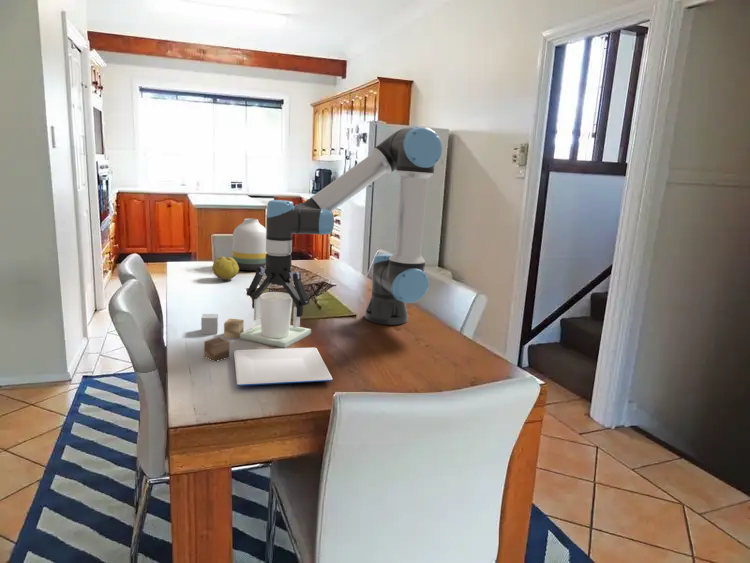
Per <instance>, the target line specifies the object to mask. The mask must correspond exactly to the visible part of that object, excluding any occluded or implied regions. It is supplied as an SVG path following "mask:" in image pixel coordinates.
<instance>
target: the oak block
mask: <svg viewBox="0 0 750 563" xmlns="http://www.w3.org/2000/svg"><path fill="white" fill-rule="evenodd" d="M244 321H245V319H238V318H228V319H226V321H224V322H223V337H224V338H227V339H228V338H230V339H240V333H242V332H244V328H245V327H244V325H245V322H244Z"/></svg>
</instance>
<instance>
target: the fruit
mask: <svg viewBox="0 0 750 563" xmlns="http://www.w3.org/2000/svg"><path fill="white" fill-rule="evenodd" d="M211 269H212V272H213V274H214V276H216V277H217V278H219V279H220V280H223V281H228V280H229V281H230V280H231V279H233V278H235V277H236V276H237V275H238V273H239V270H240V269H239V266H238V264H237V262H236V261H235V260H234V259H233V258H232V256H230V257H229V256H228V257H226V256H220V257H217V258H216V259H215V261H214V262H213V264H212V268H211Z"/></svg>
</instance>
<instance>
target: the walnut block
mask: <svg viewBox="0 0 750 563" xmlns="http://www.w3.org/2000/svg"><path fill="white" fill-rule="evenodd" d="M203 342H204V345H203V347H204V348H203V351H204V354H203V356H204V358H205V357H207V358H206V359H208V358H209V359H208V360H210V359H211V360H210V361H212V360H214V361H216V362H218V361H217V360H219V361H222V360H225V359H224V358H226V359H229V358H230V341H228V340H226V339H223V338H221V337H216V338H212V339H208V340H204V341H203ZM228 357H229V358H228ZM221 359H222V360H221ZM214 361H213V362H214Z"/></svg>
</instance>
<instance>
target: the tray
mask: <svg viewBox="0 0 750 563" xmlns="http://www.w3.org/2000/svg"><path fill="white" fill-rule="evenodd" d="M311 334H312V329H311V328H307V327H303V326H298V327H296V328H293V324H290V331H289V335H288V336H287V337H284V338H267V337H264V336H263V335H262V334H261V323H260V324H258V325H256V326H254V327H251V328H248V329H247V330H245V331H244V332H242V333H240V338H239V339H240V340H243V341H248V342H252V343H256V344H258V343H259V344H263V345H267V346H270V347H271V346H272V347H276V348H280V349H284V348H289V347H290V346H292V345H293V344H296V343H297V342H299V341H301V340H303V339H305V338H306V337H308V336H310V335H311Z"/></svg>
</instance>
